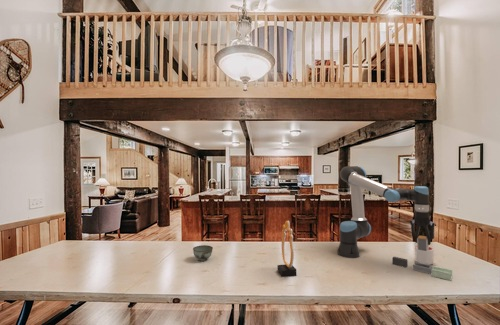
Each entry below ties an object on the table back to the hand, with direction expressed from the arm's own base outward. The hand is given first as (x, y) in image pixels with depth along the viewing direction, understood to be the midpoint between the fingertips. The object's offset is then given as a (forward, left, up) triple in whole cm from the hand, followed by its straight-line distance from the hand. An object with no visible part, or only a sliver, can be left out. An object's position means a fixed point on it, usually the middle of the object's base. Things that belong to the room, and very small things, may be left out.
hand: (423, 249), depth 161 cm
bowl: (-116, -81, -14) cm, 142 cm away
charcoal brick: (-13, 0, -13) cm, 19 cm away
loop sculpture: (-60, -61, -14) cm, 86 cm away
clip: (-1, 0, -13) cm, 13 cm away
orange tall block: (0, 0, 0) cm, 0 cm away
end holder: (+10, -3, -13) cm, 17 cm away
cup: (-2, +16, -14) cm, 21 cm away
